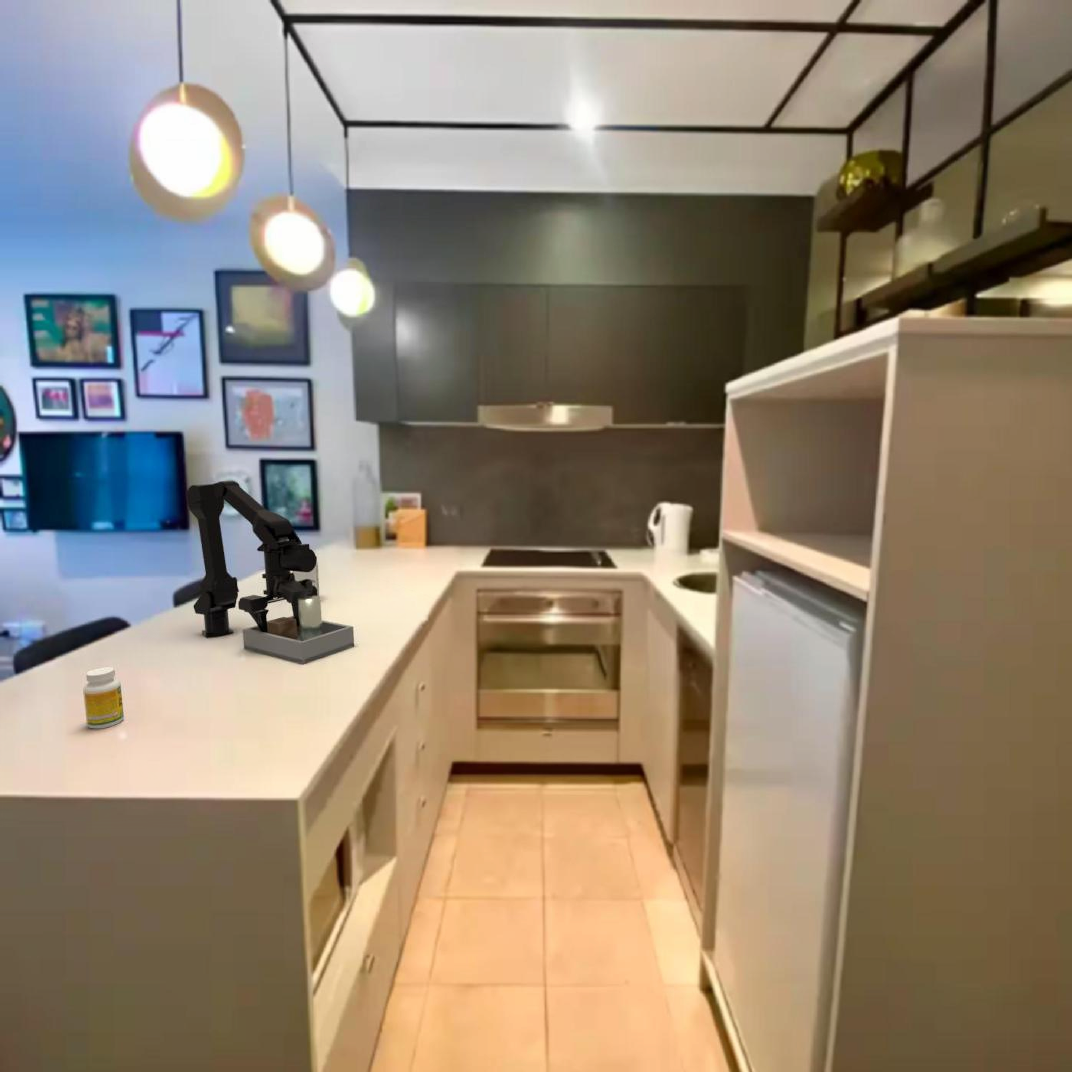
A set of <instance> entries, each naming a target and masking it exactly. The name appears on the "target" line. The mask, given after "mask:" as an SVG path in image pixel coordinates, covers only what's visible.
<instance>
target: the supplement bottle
mask: <svg viewBox="0 0 1072 1072" xmlns="http://www.w3.org/2000/svg"><path fill="white" fill-rule="evenodd" d="M115 676H116V671H115V668H114V667H111V666H110V667H108V666H106V667H100V668H96V669H92V670H90V671H87V672H86V681H87V684H85V685H84V687H83V689H82V690H83V701H84V709H85V710H84V711H85V718H86V725H87V728H89V729H94V730H95V729H97V730H99V729H105V728H110V727H113V726H115V725H117V724H120V723H121V722H122V721H123V720H124V718H125V716H124V715H125V714H124V704H123V696H122V695H123V694H122V686H121V685H122V684H121V682H120V680H119V679H117V678H115Z"/></svg>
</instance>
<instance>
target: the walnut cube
mask: <svg viewBox="0 0 1072 1072" xmlns="http://www.w3.org/2000/svg"><path fill="white" fill-rule="evenodd" d="M287 617H288V616H282V617H278V618H274V619H271V620H270V619H269V620H267V629H268V632H267V633H269V634H273V635H278V636H282V637H286V638H290V639H297V625H296V619H292V618H287Z"/></svg>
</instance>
